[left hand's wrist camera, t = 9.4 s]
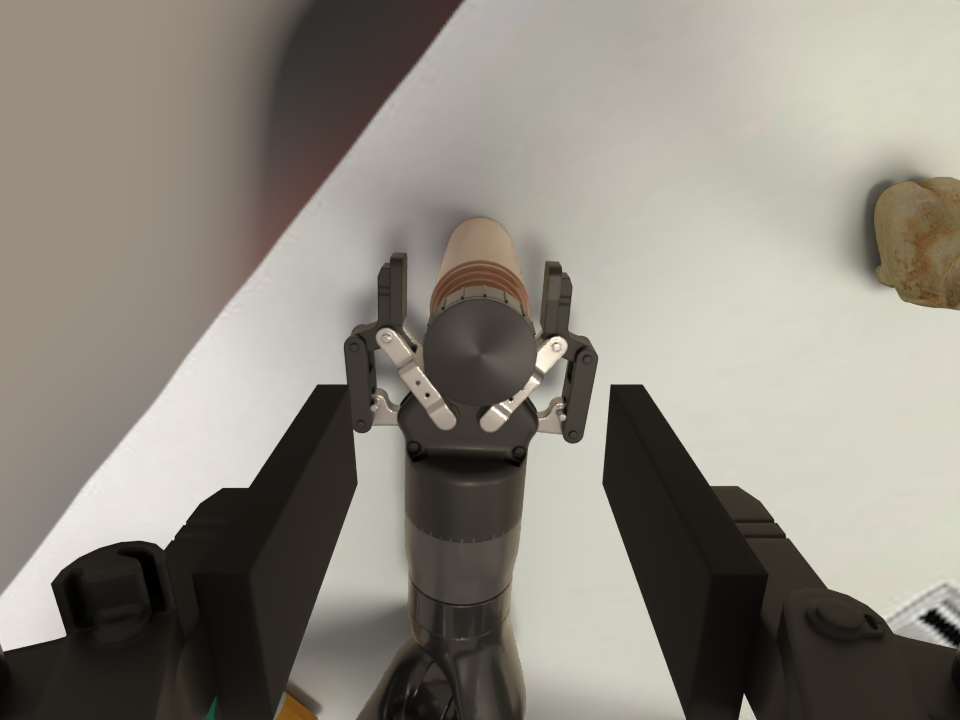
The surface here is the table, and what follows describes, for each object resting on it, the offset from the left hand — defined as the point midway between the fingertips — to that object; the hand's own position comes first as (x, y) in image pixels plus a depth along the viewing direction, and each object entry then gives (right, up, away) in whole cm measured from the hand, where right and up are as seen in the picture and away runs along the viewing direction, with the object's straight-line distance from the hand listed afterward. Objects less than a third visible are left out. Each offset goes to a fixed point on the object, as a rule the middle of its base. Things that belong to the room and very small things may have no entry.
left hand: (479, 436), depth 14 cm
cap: (0, +2, +6) cm, 6 cm away
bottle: (0, +9, +24) cm, 26 cm away
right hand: (0, +7, +18) cm, 20 cm away
